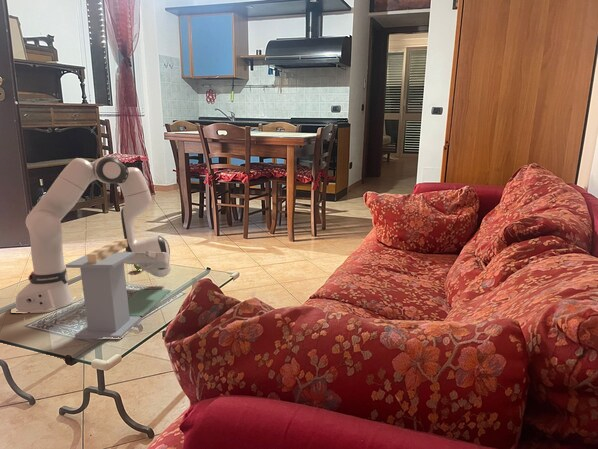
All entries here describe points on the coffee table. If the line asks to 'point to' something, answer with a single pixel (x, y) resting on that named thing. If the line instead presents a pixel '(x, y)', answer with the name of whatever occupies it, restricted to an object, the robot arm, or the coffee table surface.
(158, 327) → the coffee table surface
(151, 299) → the mat
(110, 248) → the checkered wooden bar
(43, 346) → the coffee table surface
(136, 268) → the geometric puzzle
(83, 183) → the robot arm
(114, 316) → the pedestal
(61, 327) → the coffee table surface
